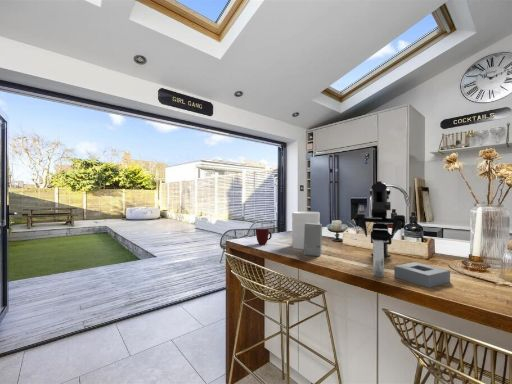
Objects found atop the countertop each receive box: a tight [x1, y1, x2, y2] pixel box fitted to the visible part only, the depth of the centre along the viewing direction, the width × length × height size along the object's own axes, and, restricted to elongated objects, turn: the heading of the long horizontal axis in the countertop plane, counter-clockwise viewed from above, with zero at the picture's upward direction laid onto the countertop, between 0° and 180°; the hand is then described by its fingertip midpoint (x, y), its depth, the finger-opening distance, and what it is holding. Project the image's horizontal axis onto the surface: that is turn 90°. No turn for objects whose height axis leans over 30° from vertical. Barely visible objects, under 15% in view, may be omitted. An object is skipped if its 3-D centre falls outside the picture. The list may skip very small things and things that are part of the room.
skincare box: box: [303, 223, 323, 257], centre depth 126 cm, size 8×7×16 cm
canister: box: [291, 211, 321, 250], centre depth 145 cm, size 16×16×20 cm
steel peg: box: [372, 240, 385, 278], centre depth 93 cm, size 4×4×13 cm
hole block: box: [393, 261, 451, 289], centre depth 88 cm, size 12×12×4 cm
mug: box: [255, 226, 272, 246], centre depth 152 cm, size 10×8×10 cm
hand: (378, 237), depth 99 cm, fingers open, 9 cm apart
